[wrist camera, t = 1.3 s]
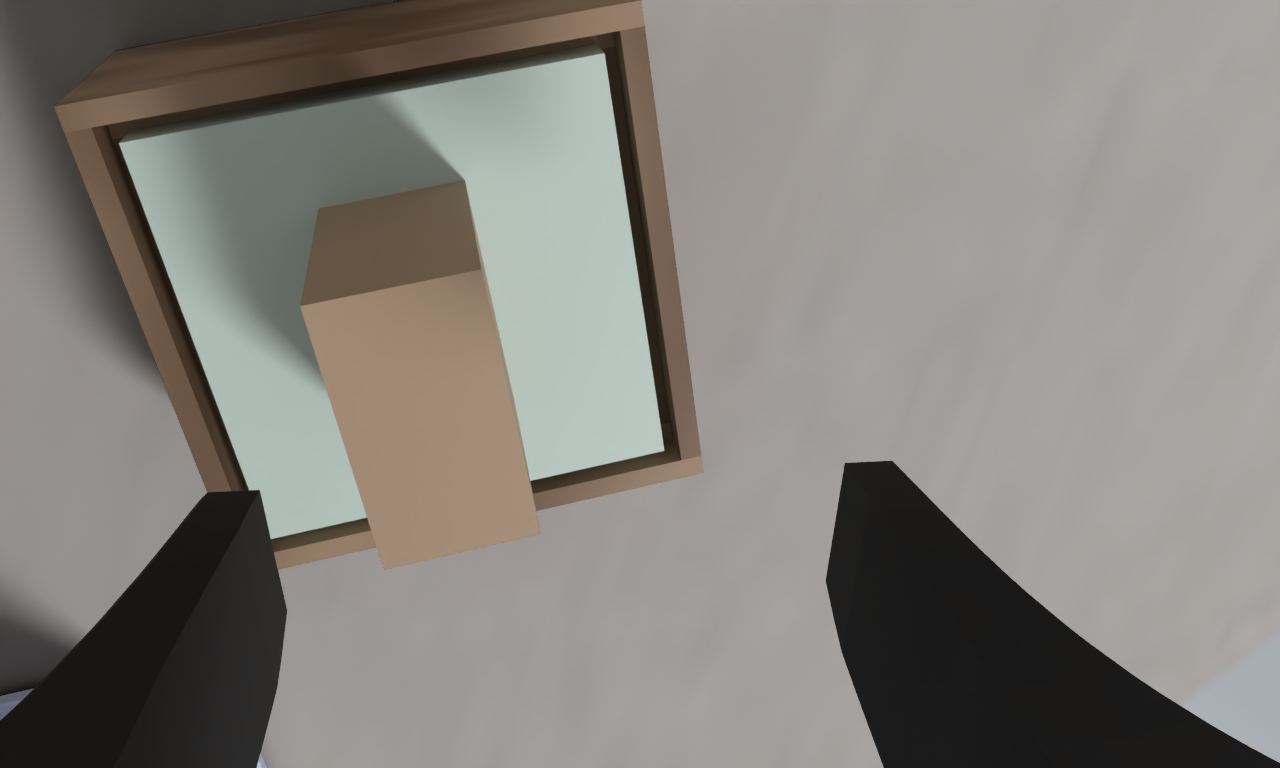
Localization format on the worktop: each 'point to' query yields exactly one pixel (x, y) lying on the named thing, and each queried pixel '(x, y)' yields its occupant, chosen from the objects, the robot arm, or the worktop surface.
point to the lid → (411, 295)
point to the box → (351, 58)
